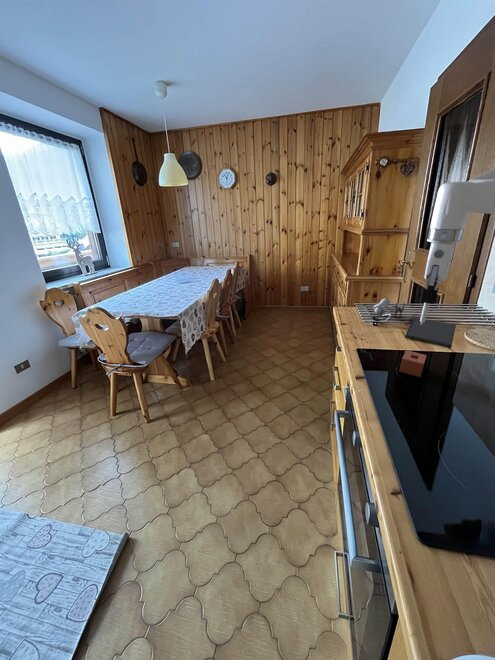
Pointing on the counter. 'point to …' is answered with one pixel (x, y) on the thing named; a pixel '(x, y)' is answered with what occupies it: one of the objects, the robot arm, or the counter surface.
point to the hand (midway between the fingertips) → (428, 301)
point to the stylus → (424, 313)
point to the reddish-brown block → (412, 363)
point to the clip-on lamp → (383, 305)
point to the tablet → (431, 332)
